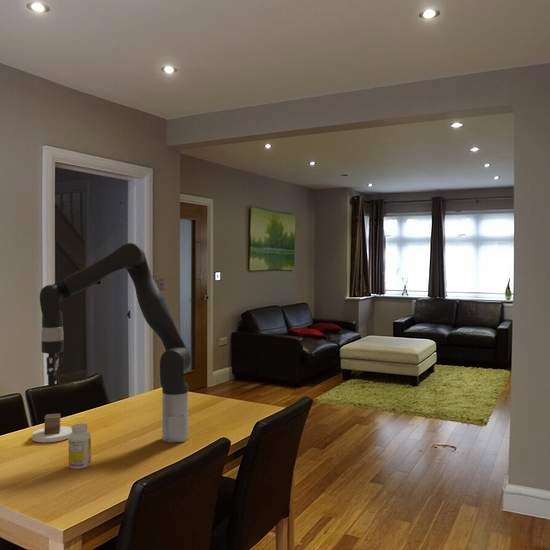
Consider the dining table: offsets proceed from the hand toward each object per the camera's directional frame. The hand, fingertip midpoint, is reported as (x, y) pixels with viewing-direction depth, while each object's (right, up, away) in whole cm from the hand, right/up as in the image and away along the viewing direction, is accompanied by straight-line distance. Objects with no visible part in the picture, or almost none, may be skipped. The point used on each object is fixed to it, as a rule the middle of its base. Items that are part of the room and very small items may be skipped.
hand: (52, 383), depth 196 cm
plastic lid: (0, -21, 0) cm, 21 cm away
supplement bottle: (+20, -21, -27) cm, 39 cm away
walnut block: (0, -18, 0) cm, 18 cm away
